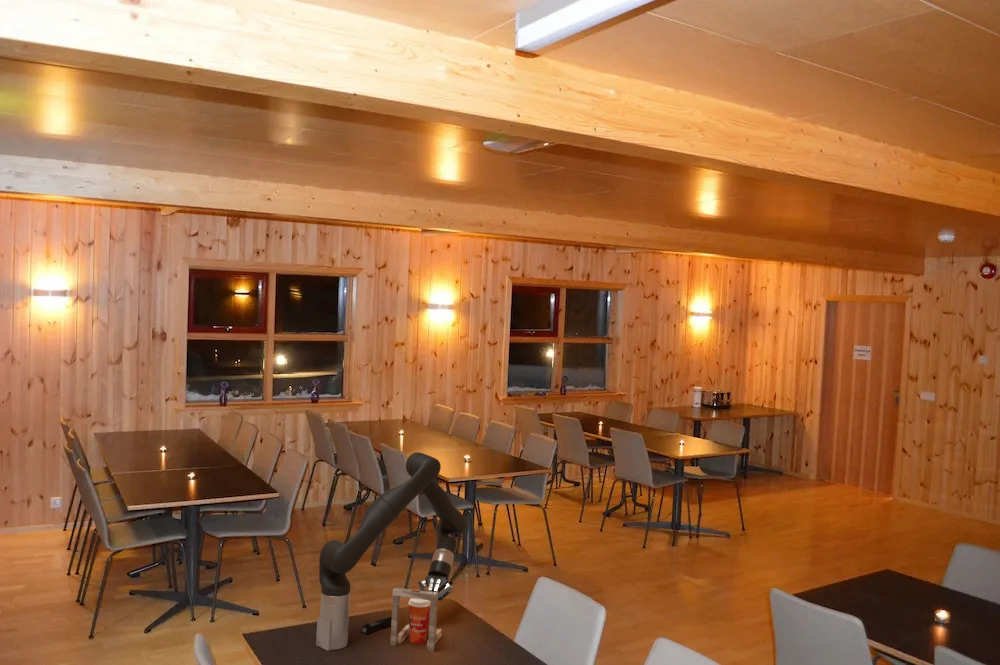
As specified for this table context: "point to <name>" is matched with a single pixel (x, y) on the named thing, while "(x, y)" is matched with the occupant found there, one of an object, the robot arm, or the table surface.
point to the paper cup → (418, 620)
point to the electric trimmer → (376, 625)
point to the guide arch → (398, 638)
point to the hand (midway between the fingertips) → (428, 610)
